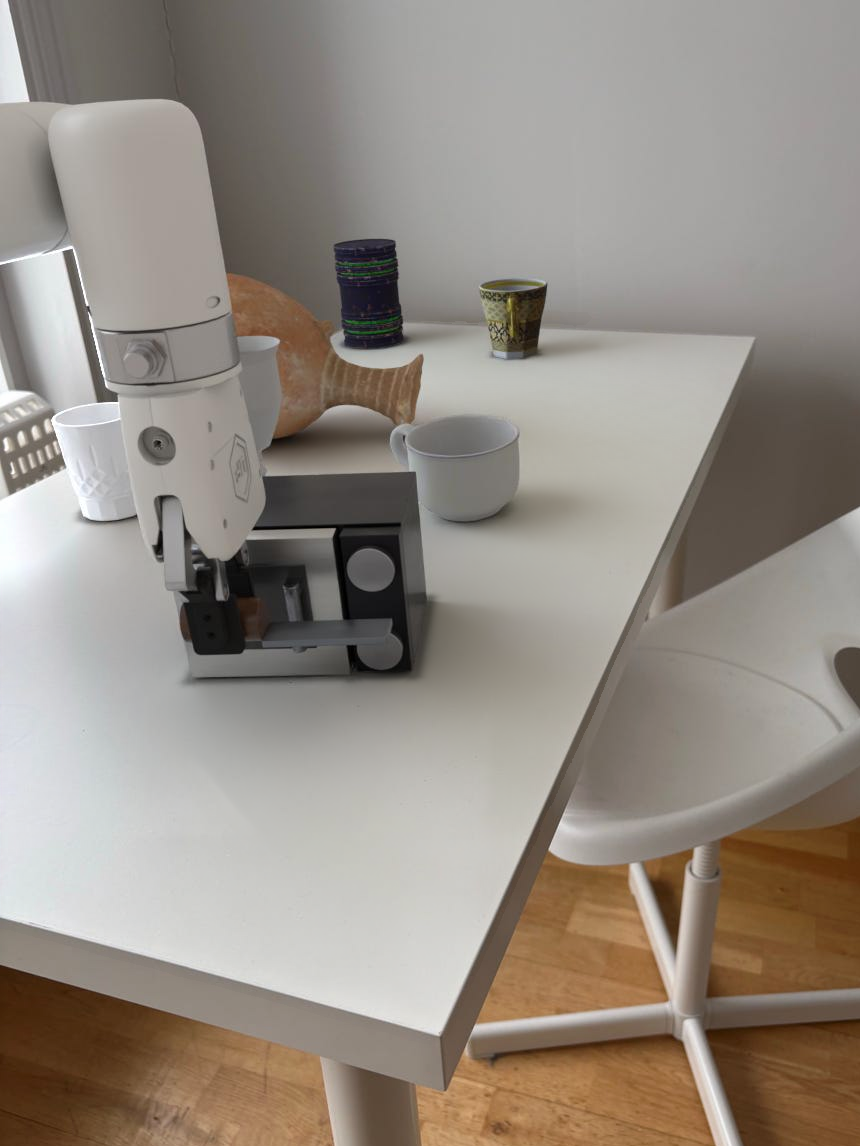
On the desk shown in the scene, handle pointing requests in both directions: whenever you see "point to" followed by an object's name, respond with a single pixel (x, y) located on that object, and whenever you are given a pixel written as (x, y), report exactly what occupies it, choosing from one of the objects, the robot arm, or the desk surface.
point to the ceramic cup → (514, 315)
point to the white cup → (96, 460)
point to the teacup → (461, 463)
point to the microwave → (364, 549)
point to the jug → (317, 362)
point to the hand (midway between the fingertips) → (227, 636)
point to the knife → (301, 628)
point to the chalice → (260, 388)
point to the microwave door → (287, 605)
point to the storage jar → (369, 293)
